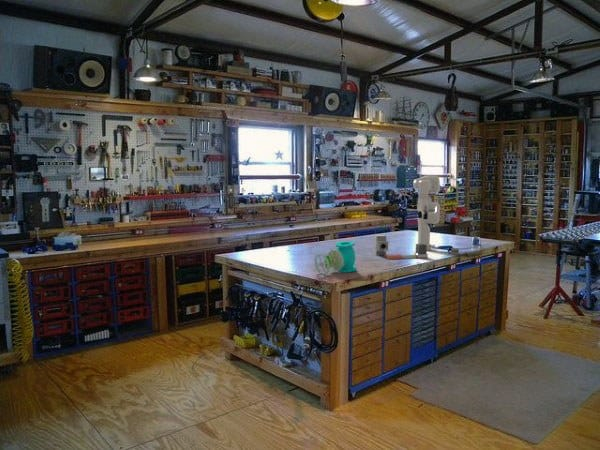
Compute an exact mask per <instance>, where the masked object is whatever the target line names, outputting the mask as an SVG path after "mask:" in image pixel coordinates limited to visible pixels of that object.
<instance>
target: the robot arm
mask: <svg viewBox="0 0 600 450" xmlns="http://www.w3.org/2000/svg"><path fill="white" fill-rule="evenodd" d="M440 181H441V180H440V177H439V176H438V175H432V174H431V175H430V174H429V175H423V176H422V177H420V178H415V179H414V180H413V184H412V187H413V189H414V190H418V195H417V196H418V198H417V204H416V205H417V208H416V209H417V227H418V230H417V244H425V245H427V250H426V252H427V251H431V250H432V248H436V244H431V243H430V241H431V227H430V226H429V225H428V224H438V223H440V216H441V205H440V203H439V202H436V201H432V198H431V196H430V195H429V194H439V193H440V191H441V186H440V185H441V183H440Z"/></svg>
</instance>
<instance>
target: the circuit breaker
mask: <svg viewBox="0 0 600 450" xmlns="http://www.w3.org/2000/svg"><path fill="white" fill-rule="evenodd" d="M372 239H373V247H372V251H373V253H372V254H373V255H375V256H385V255H387V253H386V252H389V241H388V240H387V235H384V234H374V235H373V238H372Z"/></svg>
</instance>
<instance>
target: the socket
mask: <svg viewBox="0 0 600 450" xmlns="http://www.w3.org/2000/svg"><path fill="white" fill-rule="evenodd" d="M426 250H427V245H425V244H418V243H416V244H415V253H417V254H426V253H427V251H426Z"/></svg>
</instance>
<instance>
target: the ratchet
mask: <svg viewBox="0 0 600 450" xmlns="http://www.w3.org/2000/svg"><path fill="white" fill-rule="evenodd" d="M428 256H429V254H428V253H427V252H426V254H417V253H416V252H414V253H413V254H398V253H397V254H386V255H384V259H386V260H401V259H403V260H404V259H418V260H419V259H420V260H422V259H423V260H425V259H428Z"/></svg>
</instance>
